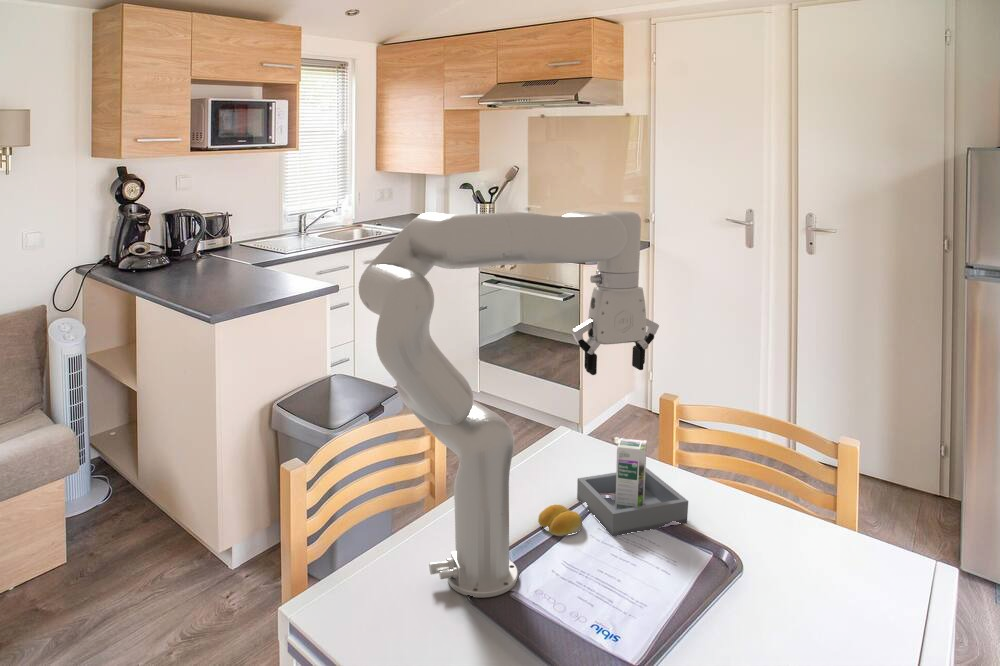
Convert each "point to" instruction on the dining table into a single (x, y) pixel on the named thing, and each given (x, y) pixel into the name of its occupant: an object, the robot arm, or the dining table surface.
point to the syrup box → (630, 473)
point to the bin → (655, 512)
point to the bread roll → (560, 520)
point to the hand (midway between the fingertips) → (614, 370)
